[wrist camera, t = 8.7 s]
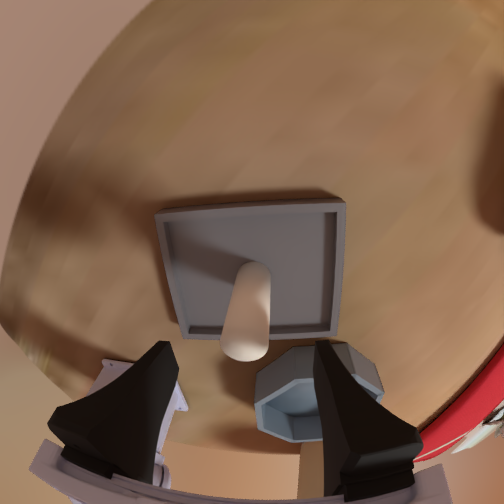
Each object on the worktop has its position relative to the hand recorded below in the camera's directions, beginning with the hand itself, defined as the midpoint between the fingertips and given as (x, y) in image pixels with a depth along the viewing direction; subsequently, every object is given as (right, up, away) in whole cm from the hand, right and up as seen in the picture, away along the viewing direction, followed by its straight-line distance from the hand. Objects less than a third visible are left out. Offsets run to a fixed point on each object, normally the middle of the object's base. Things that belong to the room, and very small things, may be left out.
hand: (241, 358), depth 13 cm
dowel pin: (+1, +3, +8) cm, 8 cm away
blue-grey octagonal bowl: (+7, -9, +13) cm, 18 cm away
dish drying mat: (+39, -16, +15) cm, 45 cm away
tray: (+1, +4, +8) cm, 9 cm away
